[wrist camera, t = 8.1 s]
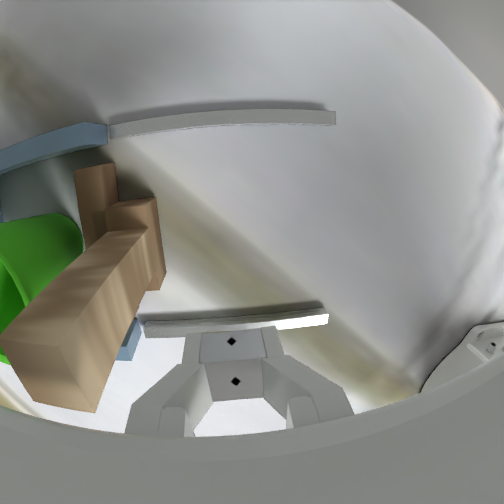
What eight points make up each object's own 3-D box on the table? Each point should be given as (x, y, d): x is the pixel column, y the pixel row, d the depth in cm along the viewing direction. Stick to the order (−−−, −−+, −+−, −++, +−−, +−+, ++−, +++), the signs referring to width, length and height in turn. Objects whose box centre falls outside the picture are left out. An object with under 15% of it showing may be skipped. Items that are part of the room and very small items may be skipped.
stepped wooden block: (152, 156, 19) (11, 184, 5) (172, 304, 23) (136, 469, 9) (91, 166, 18) (-68, 215, 4) (118, 306, 22) (51, 451, 8)
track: (329, 113, 19) (335, 111, 18) (323, 316, 25) (327, 323, 24) (115, 126, 18) (109, 125, 16) (148, 330, 24) (145, 337, 23)
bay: (106, 125, 17) (83, 121, 14) (141, 332, 24) (131, 360, 20) (-13, 164, 16) (-40, 169, 13) (28, 328, 23) (12, 349, 19)
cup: (80, 171, 18) (-15, 199, 8) (121, 273, 22) (65, 360, 11) (12, 213, 18) (-70, 256, 8) (50, 298, 22) (-9, 370, 12)
